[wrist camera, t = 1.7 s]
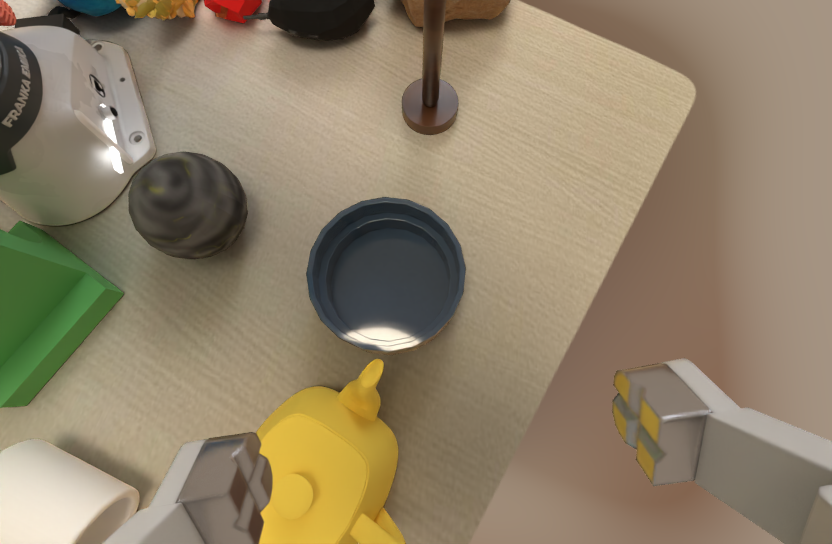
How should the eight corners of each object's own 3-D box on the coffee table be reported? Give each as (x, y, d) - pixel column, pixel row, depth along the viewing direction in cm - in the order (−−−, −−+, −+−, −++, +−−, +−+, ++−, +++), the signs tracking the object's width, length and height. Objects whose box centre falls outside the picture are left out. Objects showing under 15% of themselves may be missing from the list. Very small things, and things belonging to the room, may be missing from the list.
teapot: (339, 646, 37) (309, 752, 27) (195, 539, 39) (114, 598, 28) (468, 414, 42) (486, 426, 31) (333, 329, 43) (307, 313, 33)
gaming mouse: (230, -3, 46) (235, 33, 46) (368, -29, 46) (374, 8, 45) (254, 32, 52) (259, 64, 52) (376, 10, 52) (381, 42, 52)
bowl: (312, 233, 46) (297, 212, 40) (443, 209, 46) (446, 185, 41) (332, 367, 43) (319, 365, 37) (472, 339, 43) (481, 333, 37)
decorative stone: (211, 164, 48) (158, 109, 38) (281, 214, 46) (246, 170, 37) (147, 235, 46) (74, 196, 36) (218, 289, 44) (163, 264, 35)
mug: (65, 432, 41) (-16, 444, 33) (155, 479, 40) (93, 503, 32) (-14, 563, 39) (-122, 610, 31) (80, 617, 38) (-7, 679, 30)
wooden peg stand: (397, 91, 50) (381, -157, 27) (450, 82, 50) (479, -171, 27) (407, 139, 48) (399, -80, 25) (462, 129, 49) (503, -96, 26)
